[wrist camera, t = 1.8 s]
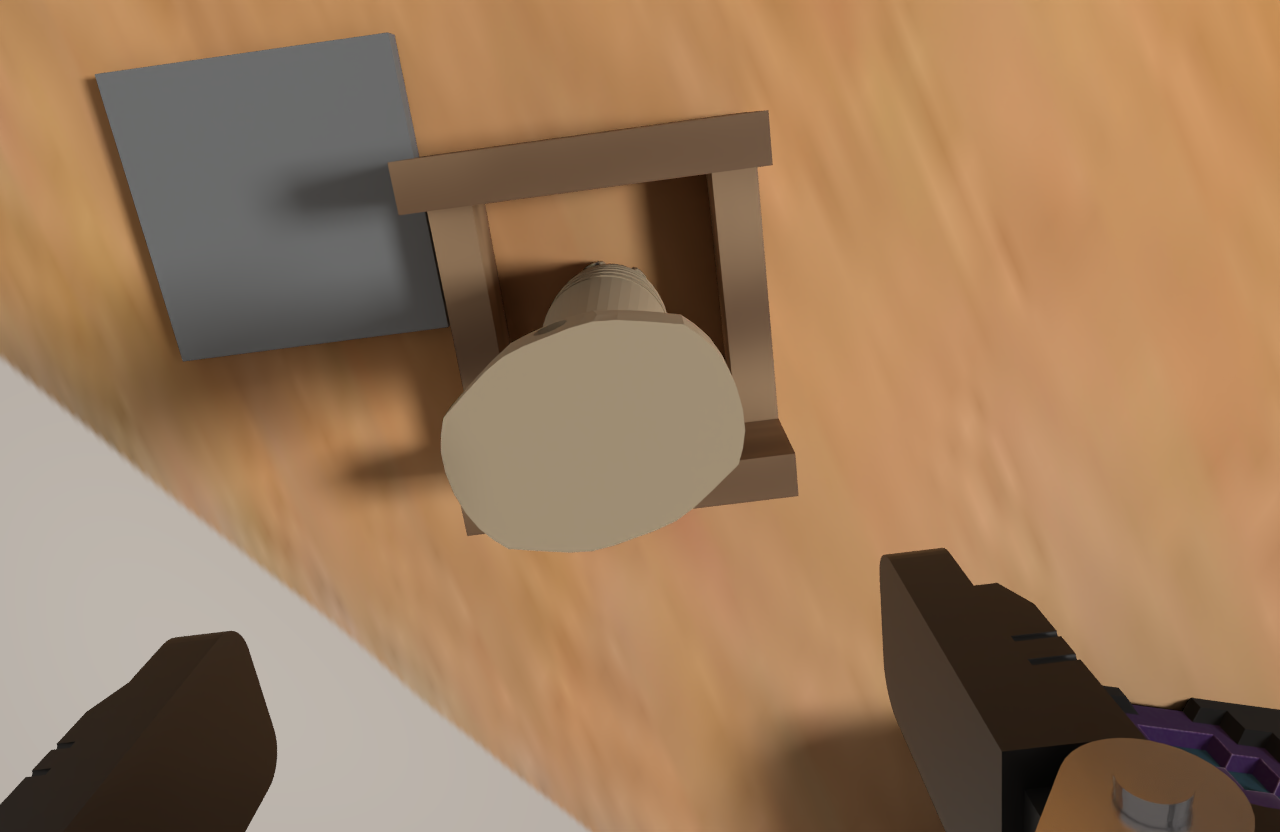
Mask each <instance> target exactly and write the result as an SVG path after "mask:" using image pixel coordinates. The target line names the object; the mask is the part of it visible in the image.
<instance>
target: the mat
mask: <svg viewBox="0 0 1280 832" xmlns="http://www.w3.org/2000/svg"><path fill="white" fill-rule="evenodd" d="M95 77H96V80H97V84H98V87H99V90H100V93H101V97H102V100H103V103H104V106H105V110H106V113H107V116H108V119H109V123H110V126H111V129H112V132H113V136H114V139H115V142H116V145H117V149H118V152H119V155H120V158H121V162H122V165H123V168H124V171H125V175H126V178H127V181H128V184H129V188H130V191H131V194H132V197H133V201H134V204H135V207H136V210H137V214H138V217H139V220H140V223H141V227H142V230H143V233H144V236H145V240H146V243H147V246H148V249H149V253H150V256H151V259H152V262H153V266H154V269H155V272H156V275H157V279H158V282H159V285H160V288H161V292H162V295H163V298H164V301H165V305H166V308H167V311H168V314H169V318H170V321H171V324H172V327H173V331H174V334H175V337H176V340H177V344H178V347H179V350H180V353H181V357H182V360H183V361H190V360H198V359H205V358H213V357H221V356H229V355H236V354H244V353H252V352H259V351H267V350H275V349H283V348H290V347H298V346H306V345H313V344H321V343H329V342H337V341H344V340H352V339H360V338H367V337H375V336H383V335H391V334H398V333H406V332H414V331H421V330H429V329H437V328H445V327H449V326H450V321H449V316H448V311H447V306H446V301H445V296H444V291H443V286H442V282H441V277H440V272H439V267H438V262H437V257H436V252H435V247H434V242H433V237H432V232H431V227H430V223H429V218H428V213H427V212H420V213H412V214H405V215H399V214H398V210H397V205H396V200H395V196H394V191H393V186H392V182H391V177H390V172H389V168H388V162H394V161H400V160H406V159H412V158H418V157H419V153H418V148H417V143H416V138H415V134H414V129H413V124H412V119H411V114H410V109H409V104H408V99H407V94H406V89H405V84H404V79H403V74H402V69H401V64H400V59H399V54H398V50H397V45H396V40H395V35H394V34H391V33H382V34H375V35H368V36H361V37H354V38H347V39H339V40H332V41H325V42H318V43H311V44H304V45H297V46H290V47H283V48H276V49H269V50H262V51H255V52H248V53H241V54H234V55H227V56H220V57H213V58H206V59H199V60H192V61H185V62H178V63H171V64H164V65H157V66H150V67H143V68H136V69H129V70H122V71H115V72H108V73H101V74H95Z"/></svg>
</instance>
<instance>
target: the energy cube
mask: <svg viewBox="0 0 1280 832" xmlns="http://www.w3.org/2000/svg"><path fill="white" fill-rule="evenodd" d="M1103 687H1104V689H1105V690H1106V691H1107V692H1108V693H1109V695H1110V696H1111V697H1112V698H1113V699H1114V701H1115V702H1116V703H1117V704H1118V705H1119V707H1120V708H1121V709H1122V710H1123V711H1124V713H1125V714H1126V715H1127V716H1128V717H1129V719H1130V720H1131V721H1132V722H1133V723H1134V725H1135V726H1136V727H1137V728H1138V729H1139V731H1140V732H1141V733H1142V734H1143V735H1144V737H1145V738H1146V739H1147V740H1150V741H1154V742H1158V743H1163V744H1167V745H1170V746H1173V747H1176V748H1179V749H1182V750H1184V751H1186V752H1189V753H1191V754H1193V755H1196V756H1197V757H1199V758H1201V759H1203V760H1205V761H1207V762H1208V763H1210V764H1212V765H1213V766H1215V767H1216V768H1217V769H1219V770H1220V771H1222V772H1223V773H1224V774H1226V775H1227V776H1228V777H1229V778H1230V779H1231V780H1232V781H1234V782H1235V783H1236V785H1237V786H1238V787H1239V788H1240V789H1241V790H1242V792H1243V793H1244V794H1245V796H1246V797H1247V799H1248V801H1249V803H1252V804H1255V805H1259V806H1263V807H1269V808H1275V809H1280V710H1277V709H1269V708H1262V707H1255V706H1247V705H1240V704H1233V703H1225V702H1218V701H1211V700H1203V699H1196V698H1190V699H1189V701H1188V703H1187V704H1186V706H1185V708H1184V710H1183V711H1176V710H1169V709H1161V708H1154V707H1146V706H1139V705H1132V704H1131V703H1130V701H1129V700H1128V699H1127V697H1126V696H1125V695H1124V694H1123V693H1122V691H1121V690H1120V689H1119V688H1116V687H1108V686H1103Z"/></svg>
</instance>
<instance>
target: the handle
mask: <svg viewBox="0 0 1280 832" xmlns="http://www.w3.org/2000/svg"><path fill="white" fill-rule="evenodd" d="M744 436H745V424H744V415H743V408H742V404H741V401H740V397H739V394H738V390H737V387H736V384H735V382H734V379H733V377H732V375H731V373H730V371H729V369H728V366H727V364H726V362H725V360H724V358H723V356H722V354H721V353H720V351H719V350H718V349H717V347H716V346H715V344H714V343H713V342H712V340H711V339H710V337H709V336H708V335H706V334H705V333H704V332H703V331H702V330H701V329H700V328H699V327H698V326H696V325H695V324H694V323H693V322H691V321H690V320H688V319H687V318H685V317H684V316H682V315H681V314H672V313H667V312H666V309H665V306H664V304H663V301H662V299H661V297H660V295H659V294H658V292H657V291H656V289H655V288H654V286H653V285H652V284H651V283H650V282H649V281H648V280H647V278H646V276H645V274H644V273H643V272H642V271H640V270H639V269H638V268H635V267H633V268H629V267H626V266H623V265H618V264H606V263H605V262H603V261H598V262H594V263H592V264H590V265H588V266H587V267H586V268H585V269H583V271H582V272H580V273H579V274H577V275H576V276H575V277H573V278H572V279H571V280H570V281H569V282H568V283H567V284H566V285H565V286H564V287H563V288H562V289H561V291H560V292H559V293H558V295H557V296H556V297H555V299H554V301H553V303H552V305H551V307H550V309H549V311H548V313H547V315H546V318H545V321H544V324H543V327H542V328H540V329H538V330H536V331H533V332H531V333H529V334H527V335H525V336H523V337H521V338H519V339H517V340H516V341H514V342H512V343H510V344H509V345H508V346H507V347H506V348H505V349H504V350H503V351H502V352H501V353H500V354H499V355H497V356H496V357H495V358H494V359H493V360H492V361H491V362H490V363H489V364H488V365H487V367H486V368H485V369H484V370H483V371H482V372H481V373H480V374H479V375H478V376H477V377H476V378H475V379H474V381H473V382H472V383H471V384H470V385H469V386H468V387H467V388H466V390H465V391H464V392H463V393H462V394H461V395H460V397H459V398H458V399H457V400H456V401H455V402H454V404H453V405H452V406H451V407H450V409H449V410H448V412H447V413H446V415H445V416H444V418H443V424H442V431H441V455H442V460H443V464H444V469H445V473H446V475H447V478H448V480H449V483H450V485H451V488H452V490H453V493H454V495H455V496H456V498H457V499H458V501H459V503H460V504H461V506H462V508H463V509H464V511H465V513H466V514H467V515H468V516H469V517H470V519H471V520H472V521H473V522H474V523H475V524H476V526H477V527H478V528H479V529H480V530H481V531H483V532H484V533H485V534H487V535H488V536H489V537H490V538H492V539H493V540H494V541H496V542H498V543H500V544H501V545H503V546H505V547H506V548H508V549H518V550H533V551H549V552H586V551H595V550H599V549H602V548H606V547H610V546H614V545H617V544H620V543H622V542H625V541H628V540H631V539H633V538H636V537H639V536H642V535H645V534H647V533H650V532H653V531H656V530H658V529H660V528H662V527H664V526H666V525H668V524H671V523H673V522H675V521H677V520H678V519H680V518H681V517H682V516H684V515H685V514H686V513H688V512H689V511H690V510H692V509H693V508H694V507H695V506H696V505H697V504H699V503H700V502H701V501H702V500H703V499H704V498H705V497H706V496H707V495H708V494H709V493H710V492H711V491H712V490H713V489H714V488H715V487H716V486H717V485H718V484H719V483H720V482H721V481H722V480H723V479H724V478H725V477H726V476H727V475H728V474H729V473H731V472H732V471H733V470H734V469H735V468H736V467H737V466H738V465H739V461H740V457H741V454H742V450H743V444H744Z"/></svg>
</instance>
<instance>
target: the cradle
mask: <svg viewBox="0 0 1280 832" xmlns="http://www.w3.org/2000/svg"><path fill="white" fill-rule="evenodd" d="M769 165H773V164H772V151H771V139H770V126H769V113H768V110H767V111H755V112H744V113H736V114H729V115H722V116H714V117H707V118H700V119H692V120H685V121H678V122H670V123H663V124H656V125H649V126H641V127H634V128H627V129H619V130H612V131H605V132H597V133H590V134H583V135H576V136H568V137H561V138H554V139H546V140H539V141H532V142H524V143H517V144H510V145H503V146H495V147H488V148H481V149H473V150H466V151H459V152H451V153H444V154H437V155H430V156H424V157H418V158H412V159H406V160H400V161H394V162H388V168H389V172H390V177H391V182H392V186H393V191H394V196H395V200H396V205H397V210H398V214H399V215H405V214H412V213H420V212H427V213H428V218H429V223H430V227H431V232H432V237H433V242H434V247H435V252H436V257H437V262H438V267H439V272H440V277H441V282H442V286H443V291H444V296H445V301H446V306H447V311H448V316H449V321H450V326H451V331H452V336H453V341H454V345H455V350H456V355H457V360H458V365H459V370H460V375H461V380H462V385H463V390H464V391H465V390H466V388H467V387H468V386H469V385H470V384H471V383H472V382H473V381H474V379H475V378H476V377H477V376H478V375H479V374H480V373H481V372H482V371H483V370H484V369H485V368H486V367H487V365H488V364H489V363H490V362H491V361H492V360H493V359H494V358H495V357H496V356H497V355H499V354H500V353H501V352H502V351H503V350H504V349H505V348H506V347H507V346H508V345H509V344H510V339H509V333H508V328H507V322H506V317H505V311H504V306H503V300H502V295H501V289H500V284H499V278H498V273H497V267H496V262H495V256H494V251H493V245H492V240H491V234H490V229H489V223H488V218H487V212H486V207H485V204H486V203H494V202H501V201H509V200H516V199H524V198H531V197H538V196H546V195H553V194H561V193H568V192H576V191H583V190H590V189H598V188H605V187H613V186H620V185H628V184H635V183H642V182H650V181H657V180H665V179H672V178H680V177H687V176H694V175H702V174H706V176H707V186H708V195H709V205H710V215H711V225H712V235H713V244H714V254H715V264H716V274H717V284H718V294H719V303H720V313H721V323H722V333H723V343H724V352H725V362H726V364H727V366H728V369H729V371H730V373H731V375H732V377H733V379H734V382H735V384H736V387H737V390H738V394H739V397H740V401H741V404H742V408H743V415H744V424H745V436H744V444H743V450H742V454H741V457H740V461H739V465H738V466H737V467H736V468H735V469H734V470H733V471H732V472H731V473H729V474H728V475H727V476H726V477H725V478H724V479H723V480H722V481H721V482H720V483H719V484H718V485H717V486H716V487H715V488H714V489H713V490H712V491H711V492H710V493H709V494H708V495H707V496H706V497H705V498H704V499H703V500H702V501H701V502H700V503H699V504H697V505H696V506H695V507H694V508H703V507H711V506H719V505H728V504H736V503H744V502H752V501H761V500H769V499H777V498H786V497H794V496H798V484H797V471H796V458H795V452H794V450H793V448H792V446H791V444H790V442H789V440H788V438H787V436H786V433H785V431H784V429H783V427H782V425H781V423H780V421H779V419H778V409H777V398H776V386H775V374H774V362H773V350H772V338H771V326H770V314H769V302H768V290H767V278H766V266H765V254H764V242H763V230H762V218H761V206H760V195H759V183H758V171H757V167H761V166H769ZM694 508H693V509H694ZM461 509H462V513H463V518H464V523H465V527H466V532H467V536H471V535H479V534H485V533H484V532H483V531H481V530H480V529H479V528H478V527H477V526H476V524H475V523H474V522H473V521H472V520H471V519H470V517H469V516H468V515H467V514H466V513H465V511H464V509H463V508H462V506H461Z"/></svg>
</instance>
